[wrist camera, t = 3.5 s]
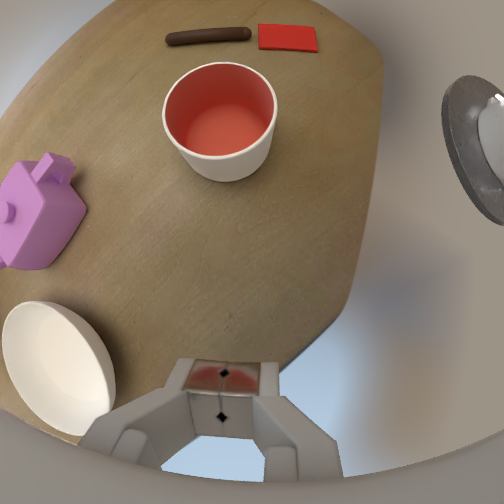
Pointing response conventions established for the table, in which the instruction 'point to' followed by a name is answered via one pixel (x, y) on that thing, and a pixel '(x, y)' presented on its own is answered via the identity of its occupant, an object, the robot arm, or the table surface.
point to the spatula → (268, 35)
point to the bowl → (58, 365)
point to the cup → (221, 119)
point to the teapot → (38, 212)
